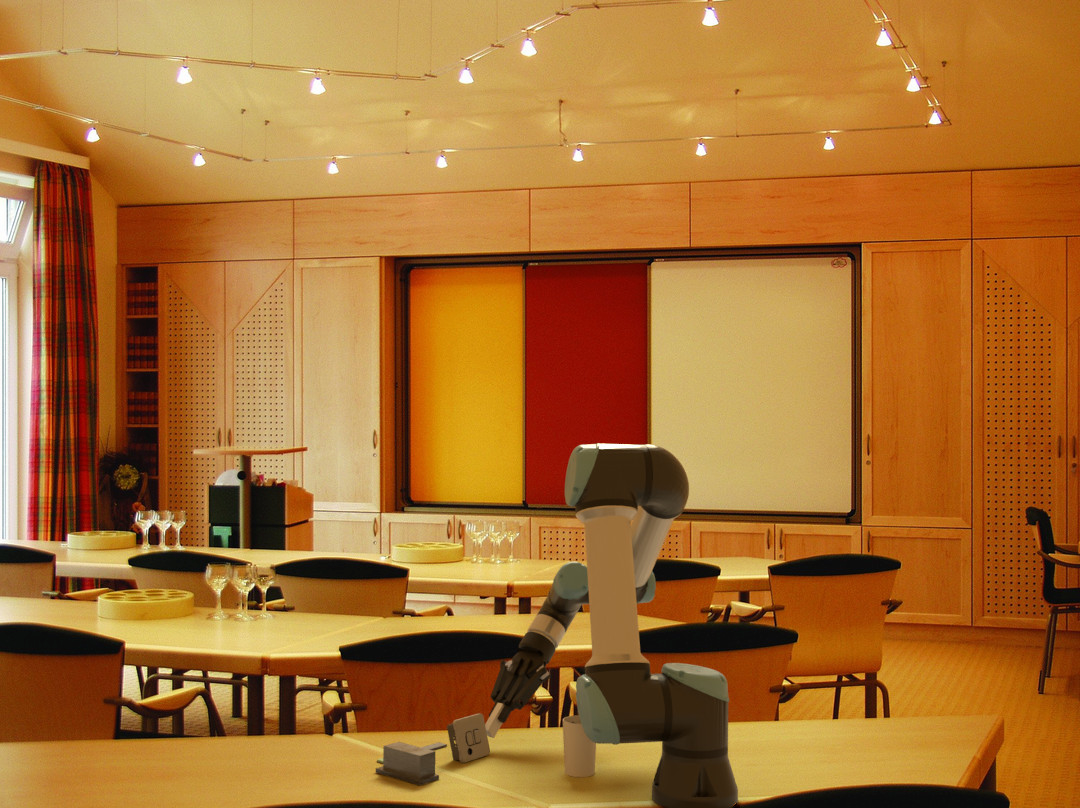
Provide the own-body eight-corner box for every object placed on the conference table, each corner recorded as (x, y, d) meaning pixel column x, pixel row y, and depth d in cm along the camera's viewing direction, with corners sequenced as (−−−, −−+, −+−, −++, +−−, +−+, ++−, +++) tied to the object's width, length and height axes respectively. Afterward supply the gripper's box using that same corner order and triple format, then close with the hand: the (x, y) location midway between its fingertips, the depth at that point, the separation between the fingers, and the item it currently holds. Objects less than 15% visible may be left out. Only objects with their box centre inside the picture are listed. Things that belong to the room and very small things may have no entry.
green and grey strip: (446, 746, 224) (447, 742, 224) (385, 764, 211) (385, 760, 211) (438, 744, 226) (438, 740, 226) (377, 761, 213) (377, 758, 213)
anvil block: (438, 779, 202) (439, 752, 202) (419, 785, 198) (419, 758, 198) (395, 766, 209) (395, 740, 210) (375, 772, 206) (376, 746, 206)
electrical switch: (463, 764, 212) (460, 721, 212) (446, 762, 214) (443, 719, 215) (491, 755, 218) (488, 713, 219) (474, 753, 221) (471, 712, 222)
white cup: (568, 778, 203) (568, 725, 203) (558, 768, 209) (558, 716, 210) (601, 776, 205) (601, 722, 205) (590, 766, 211) (591, 714, 211)
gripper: (572, 655, 233) (520, 749, 219) (526, 647, 241) (474, 738, 228) (556, 633, 229) (503, 728, 215) (510, 626, 237) (456, 717, 224)
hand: (488, 733), depth 222 cm, fingers closed
